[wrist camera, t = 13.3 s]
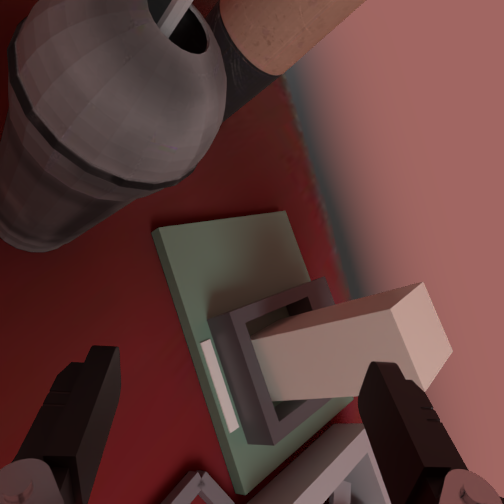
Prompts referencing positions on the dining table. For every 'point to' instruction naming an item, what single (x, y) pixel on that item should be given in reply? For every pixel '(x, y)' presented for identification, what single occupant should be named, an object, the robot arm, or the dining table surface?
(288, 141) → the dining table surface
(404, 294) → the plug
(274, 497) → the fan
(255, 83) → the travel mug
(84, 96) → the beverage cup
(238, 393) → the header board
